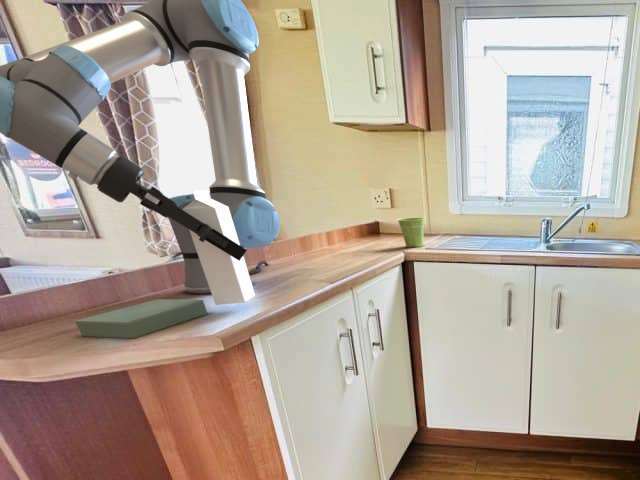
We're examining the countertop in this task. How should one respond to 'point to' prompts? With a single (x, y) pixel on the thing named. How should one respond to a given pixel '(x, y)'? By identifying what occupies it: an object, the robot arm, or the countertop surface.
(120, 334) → the sage green flat tile
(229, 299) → the milk
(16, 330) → the countertop surface
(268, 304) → the countertop surface
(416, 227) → the plant pot
